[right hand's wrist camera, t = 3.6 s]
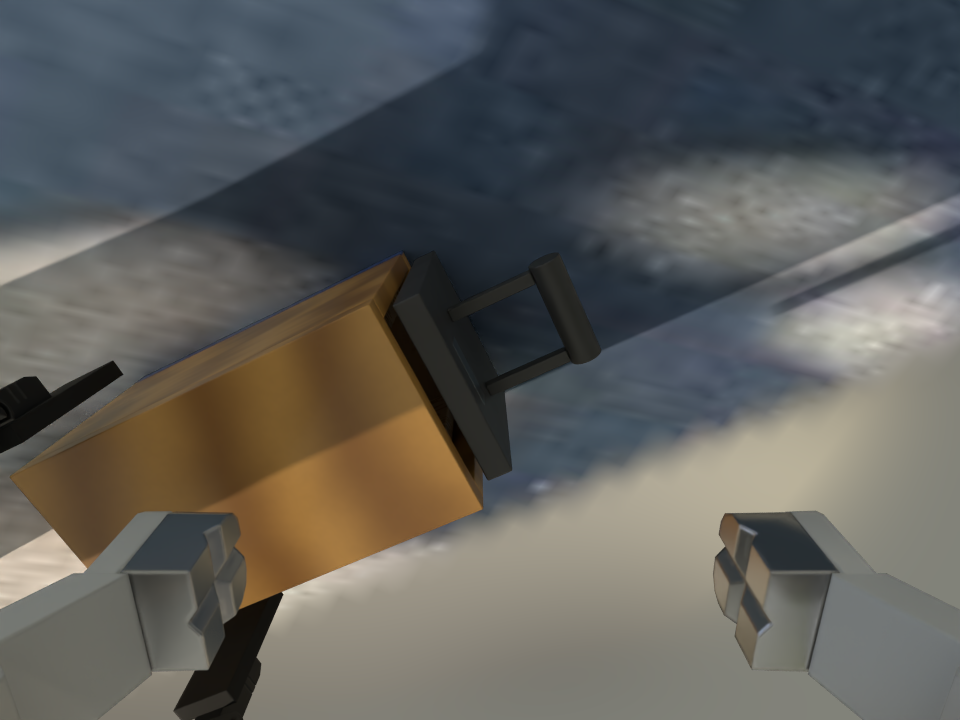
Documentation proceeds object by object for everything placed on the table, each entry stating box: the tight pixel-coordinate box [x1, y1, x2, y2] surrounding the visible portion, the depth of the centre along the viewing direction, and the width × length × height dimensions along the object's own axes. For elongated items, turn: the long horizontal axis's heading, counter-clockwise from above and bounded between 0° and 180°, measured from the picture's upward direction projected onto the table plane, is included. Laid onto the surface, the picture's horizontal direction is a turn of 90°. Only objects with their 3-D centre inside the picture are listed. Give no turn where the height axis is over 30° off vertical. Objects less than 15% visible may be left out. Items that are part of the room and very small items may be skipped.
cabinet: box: [10, 250, 483, 609], centre depth 31 cm, size 17×10×11 cm, turn 116°
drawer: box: [384, 251, 601, 480], centre depth 30 cm, size 22×9×9 cm, turn 116°
